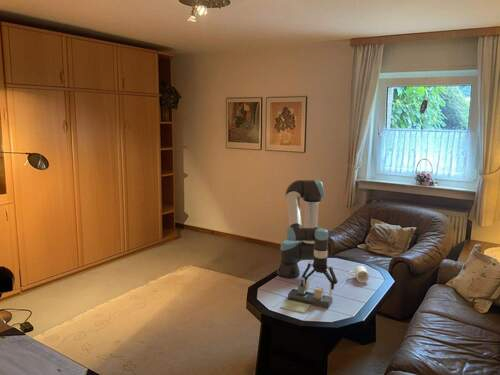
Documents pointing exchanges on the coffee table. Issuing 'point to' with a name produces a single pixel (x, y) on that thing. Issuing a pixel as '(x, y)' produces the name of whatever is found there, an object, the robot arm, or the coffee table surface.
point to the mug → (360, 274)
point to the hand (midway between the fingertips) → (318, 292)
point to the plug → (318, 293)
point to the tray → (295, 306)
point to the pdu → (308, 297)
